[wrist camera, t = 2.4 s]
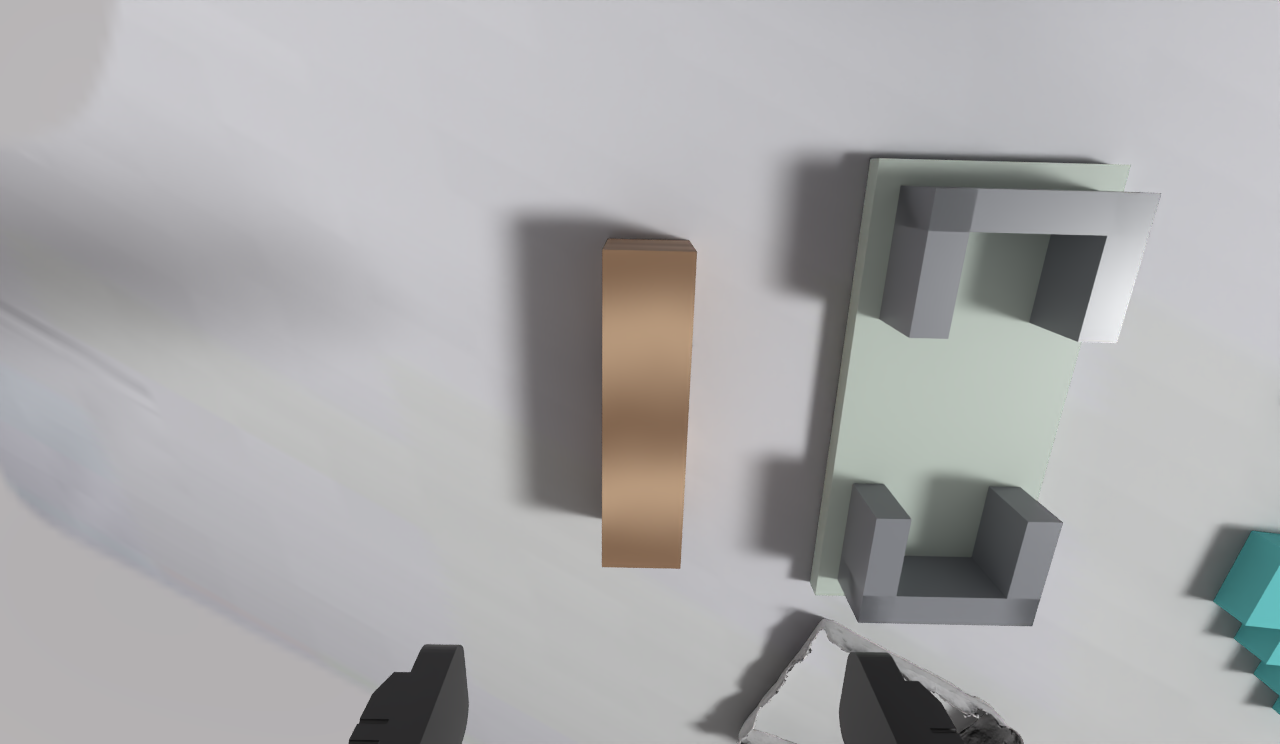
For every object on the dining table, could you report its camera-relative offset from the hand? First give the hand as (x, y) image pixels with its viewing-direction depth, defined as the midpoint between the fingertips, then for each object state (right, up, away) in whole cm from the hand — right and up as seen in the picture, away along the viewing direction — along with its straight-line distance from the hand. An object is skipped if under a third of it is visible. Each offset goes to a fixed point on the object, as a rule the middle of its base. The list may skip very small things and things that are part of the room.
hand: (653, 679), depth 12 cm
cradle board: (+14, +5, +15) cm, 21 cm away
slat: (0, +6, +16) cm, 17 cm away
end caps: (+14, +5, +15) cm, 21 cm away
